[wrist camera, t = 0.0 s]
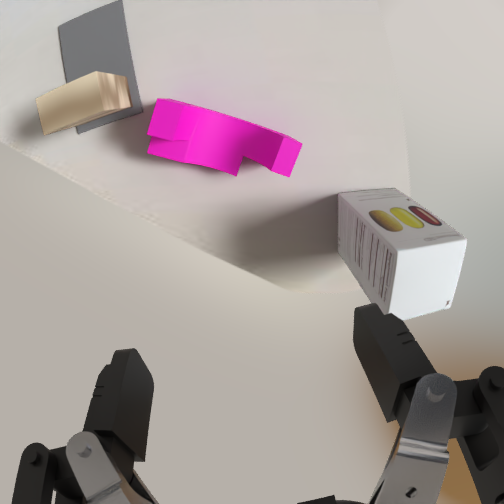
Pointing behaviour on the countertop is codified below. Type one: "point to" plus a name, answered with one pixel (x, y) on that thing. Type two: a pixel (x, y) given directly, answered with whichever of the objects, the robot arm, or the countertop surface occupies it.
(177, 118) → the toy block
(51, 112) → the ash block
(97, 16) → the mat
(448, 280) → the supplement box
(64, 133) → the countertop surface
